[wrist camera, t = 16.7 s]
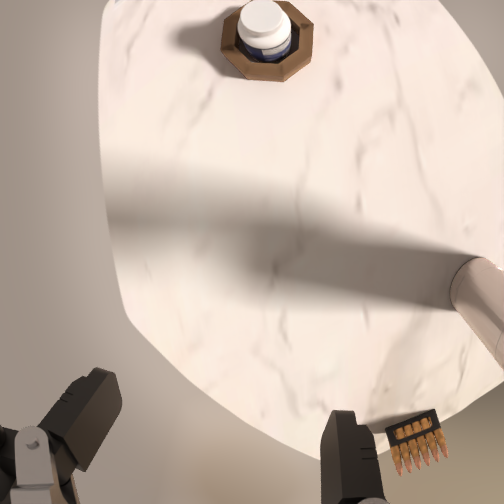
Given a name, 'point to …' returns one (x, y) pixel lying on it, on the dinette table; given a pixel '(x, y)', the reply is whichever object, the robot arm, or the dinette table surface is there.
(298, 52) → the walnut ring
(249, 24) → the pill bottle
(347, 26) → the dinette table surface
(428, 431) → the ammunition clip
